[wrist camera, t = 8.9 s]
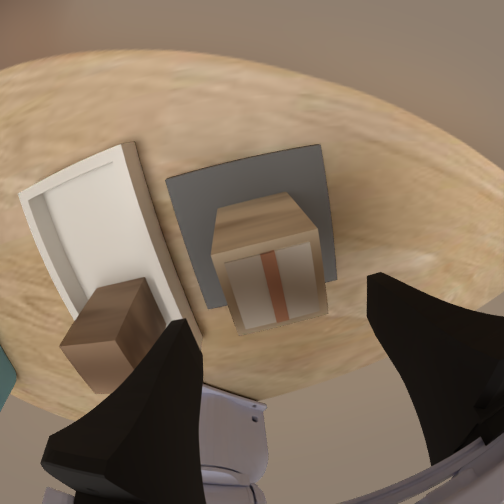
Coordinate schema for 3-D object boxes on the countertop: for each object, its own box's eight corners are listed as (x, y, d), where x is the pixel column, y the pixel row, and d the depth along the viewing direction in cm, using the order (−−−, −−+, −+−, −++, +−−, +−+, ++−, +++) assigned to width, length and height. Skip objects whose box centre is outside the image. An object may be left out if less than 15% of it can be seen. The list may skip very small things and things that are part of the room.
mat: (317, 144, 17) (320, 144, 17) (334, 275, 21) (337, 279, 21) (167, 178, 17) (165, 180, 17) (208, 304, 22) (208, 309, 21)
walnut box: (166, 324, 22) (149, 391, 15) (120, 331, 22) (95, 393, 15) (144, 276, 20) (114, 340, 13) (96, 287, 20) (59, 346, 13)
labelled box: (298, 253, 20) (329, 316, 13) (235, 269, 20) (238, 338, 13) (286, 191, 18) (319, 230, 11) (217, 208, 18) (210, 257, 11)
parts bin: (202, 336, 23) (200, 357, 21) (113, 349, 23) (105, 367, 21) (134, 141, 16) (120, 144, 14) (36, 185, 16) (17, 193, 14)
